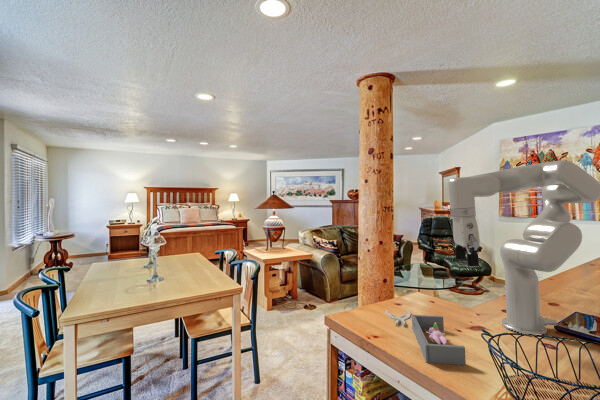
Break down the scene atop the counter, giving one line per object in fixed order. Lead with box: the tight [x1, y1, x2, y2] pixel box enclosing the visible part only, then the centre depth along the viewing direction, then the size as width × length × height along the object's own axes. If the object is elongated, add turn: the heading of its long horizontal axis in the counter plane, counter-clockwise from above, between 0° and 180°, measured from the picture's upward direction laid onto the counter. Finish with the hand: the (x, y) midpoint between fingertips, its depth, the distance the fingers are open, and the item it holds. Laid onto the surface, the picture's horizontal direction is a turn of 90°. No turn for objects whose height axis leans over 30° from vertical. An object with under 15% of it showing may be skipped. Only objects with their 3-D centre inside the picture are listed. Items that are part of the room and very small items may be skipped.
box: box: [411, 314, 467, 366], centre depth 91 cm, size 10×22×5 cm, turn 168°
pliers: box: [385, 309, 412, 328], centre depth 112 cm, size 10×2×15 cm
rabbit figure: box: [425, 322, 448, 345], centre depth 93 cm, size 6×6×15 cm
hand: (466, 262), depth 97 cm, fingers open, 9 cm apart
